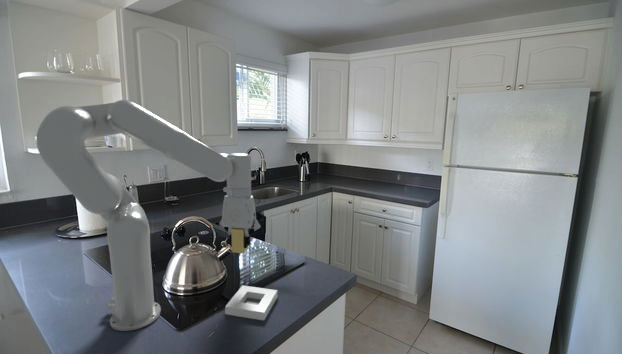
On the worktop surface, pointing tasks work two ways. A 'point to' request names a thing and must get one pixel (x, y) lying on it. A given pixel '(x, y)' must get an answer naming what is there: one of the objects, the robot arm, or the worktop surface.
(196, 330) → the worktop surface
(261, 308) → the socket housing
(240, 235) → the plug block
